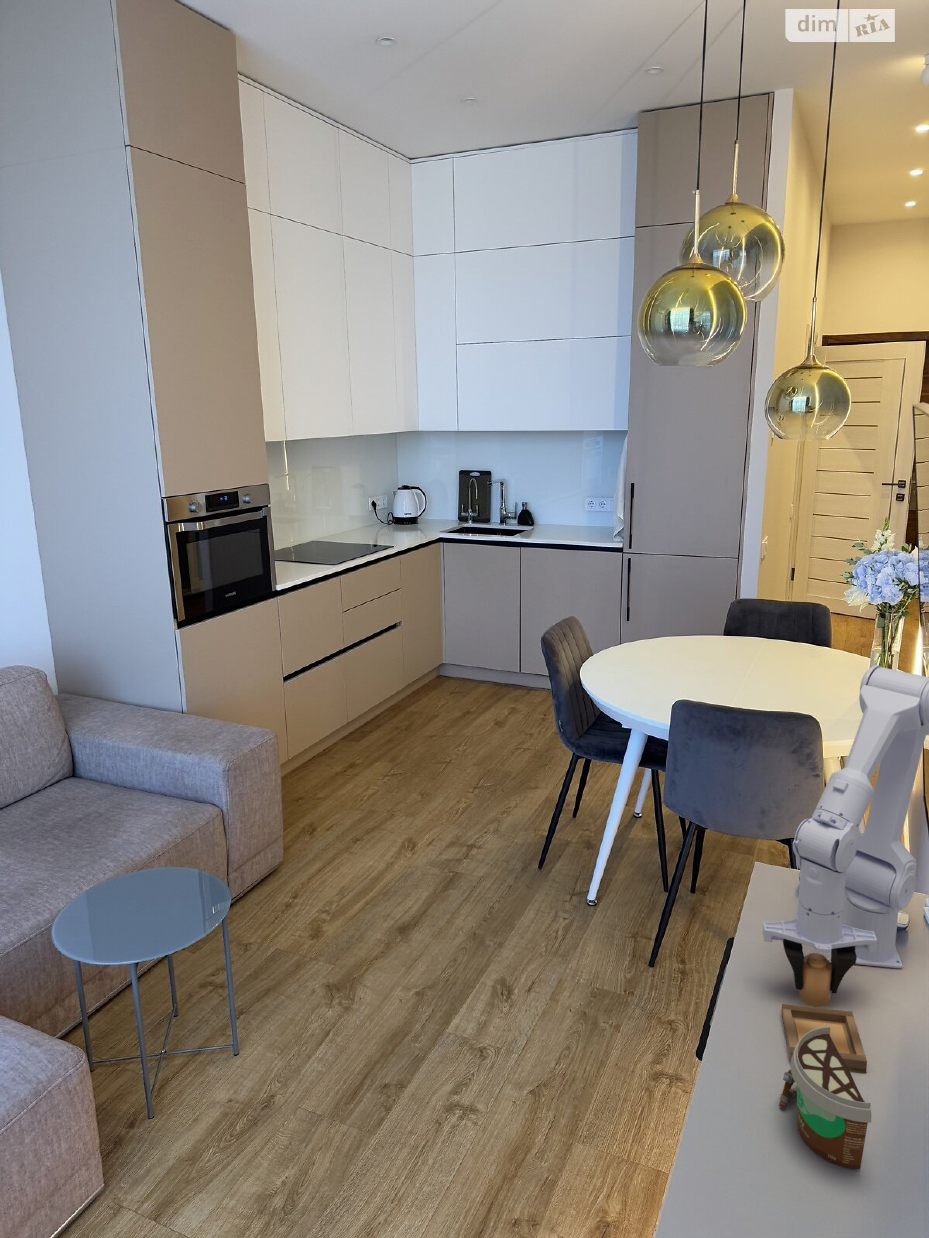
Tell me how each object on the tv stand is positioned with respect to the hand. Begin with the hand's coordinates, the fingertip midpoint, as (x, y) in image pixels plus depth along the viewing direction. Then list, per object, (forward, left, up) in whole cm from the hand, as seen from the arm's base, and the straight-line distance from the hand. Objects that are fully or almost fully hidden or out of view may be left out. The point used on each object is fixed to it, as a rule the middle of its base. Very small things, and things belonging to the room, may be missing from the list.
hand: (815, 986), depth 120 cm
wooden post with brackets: (+18, -4, -2) cm, 18 cm away
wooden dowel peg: (0, 0, -2) cm, 2 cm away
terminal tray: (+9, 0, -2) cm, 9 cm away
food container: (+24, -3, -2) cm, 24 cm away
